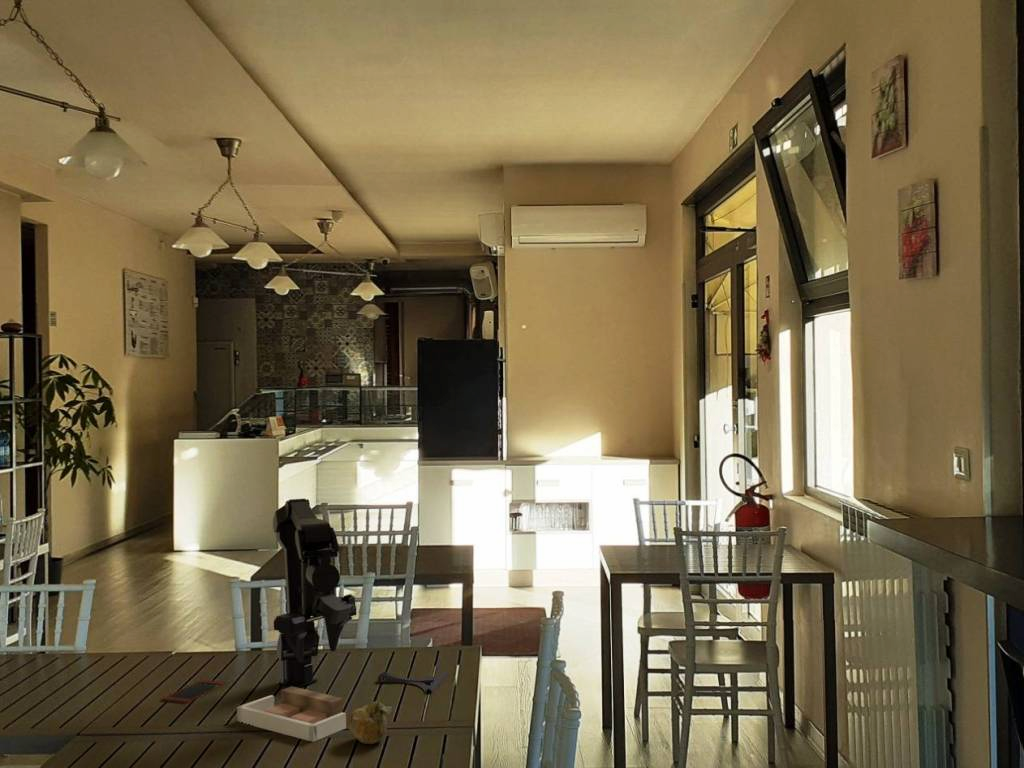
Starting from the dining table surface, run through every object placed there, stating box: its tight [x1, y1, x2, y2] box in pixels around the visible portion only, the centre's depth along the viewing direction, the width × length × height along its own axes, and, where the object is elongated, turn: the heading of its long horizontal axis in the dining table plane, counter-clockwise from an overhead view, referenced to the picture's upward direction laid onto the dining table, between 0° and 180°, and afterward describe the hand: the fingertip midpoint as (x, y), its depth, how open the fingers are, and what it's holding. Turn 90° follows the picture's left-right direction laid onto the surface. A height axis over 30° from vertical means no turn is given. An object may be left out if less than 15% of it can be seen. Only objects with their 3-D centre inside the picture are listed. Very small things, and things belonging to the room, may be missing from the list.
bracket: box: [377, 669, 449, 694], centre depth 232 cm, size 14×15×3 cm
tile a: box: [265, 703, 300, 718], centre depth 208 cm, size 5×5×2 cm
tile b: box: [291, 710, 327, 724], centre depth 204 cm, size 5×5×2 cm
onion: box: [347, 701, 394, 745], centre depth 194 cm, size 8×8×8 cm
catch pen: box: [236, 694, 347, 743], centre depth 205 cm, size 22×9×3 cm, turn 55°
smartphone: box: [160, 679, 229, 704], centre depth 228 cm, size 7×1×15 cm
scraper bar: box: [280, 686, 344, 718], centre depth 209 cm, size 15×3×5 cm, turn 54°
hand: (316, 656), depth 213 cm, fingers open, 9 cm apart
